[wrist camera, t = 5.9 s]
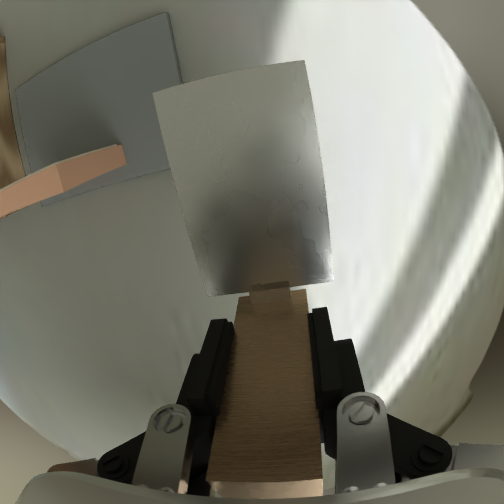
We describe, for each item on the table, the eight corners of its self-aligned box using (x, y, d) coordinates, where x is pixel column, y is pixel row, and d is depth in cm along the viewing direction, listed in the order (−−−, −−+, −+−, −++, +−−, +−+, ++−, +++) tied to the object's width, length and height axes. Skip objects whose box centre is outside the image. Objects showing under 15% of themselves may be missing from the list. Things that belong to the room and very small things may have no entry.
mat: (199, 161, 22) (197, 162, 21) (45, 204, 24) (41, 206, 24) (168, 14, 17) (166, 11, 16) (19, 89, 19) (15, 89, 19)
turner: (334, 335, 14) (358, 500, 7) (229, 346, 14) (200, 504, 7) (302, 62, 9) (375, -39, 2) (158, 93, 9) (-36, 112, 2)
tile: (126, 164, 21) (64, 192, 14) (62, 185, 23) (-1, 217, 15) (121, 142, 21) (55, 162, 14) (57, 166, 22) (-9, 193, 15)
